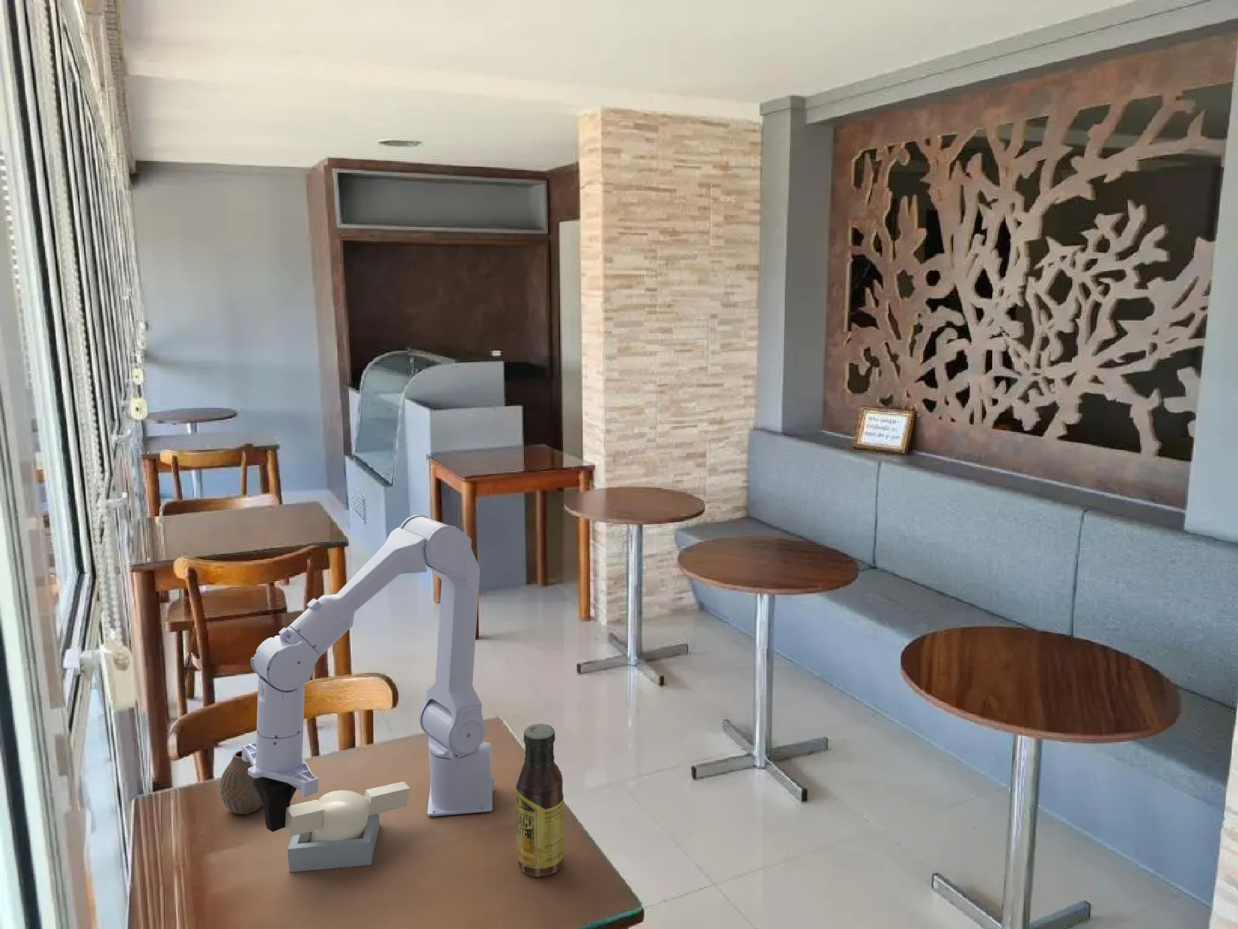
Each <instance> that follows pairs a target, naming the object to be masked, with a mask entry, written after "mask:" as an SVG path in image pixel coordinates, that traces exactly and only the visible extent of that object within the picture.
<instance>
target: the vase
mask: <svg viewBox="0 0 1238 929" xmlns="http://www.w3.org/2000/svg"><path fill="white" fill-rule="evenodd" d="M250 767H252V765H251V763H250V761H248V762H245V761H243V760H242V749H240V750H239V751H236V752H235V753H234V754H233V756H232V759H231V761H230V762H229V764H227V766H226V768H224V769H225V770H224V771H223V773H222V775H221V778H220V783H219V792H220V797H221V798H220V799H221V801H222V803H223V805H224V806H225V807H226V809H227V810H229V811H230V812H232V813H233V814H236V815H240V814H244V815H247V814H246V813H249V814H251V813H250V812H252V813H254V812H253V811H255V810H257V809H258V810H259V809H261V807H263V803H262V800H261V798H260V796H259V794H258V792H257V790H256V788H255V787H254V785H253V780H254V779H256V778H253V777H252V776H250V775H249V774H248V769H249V768H250ZM258 810H257V811H258ZM255 812H256V811H255Z"/></svg>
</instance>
